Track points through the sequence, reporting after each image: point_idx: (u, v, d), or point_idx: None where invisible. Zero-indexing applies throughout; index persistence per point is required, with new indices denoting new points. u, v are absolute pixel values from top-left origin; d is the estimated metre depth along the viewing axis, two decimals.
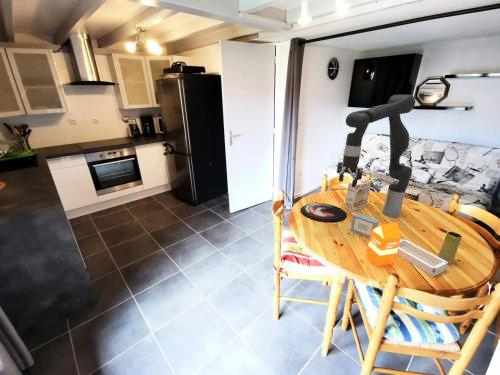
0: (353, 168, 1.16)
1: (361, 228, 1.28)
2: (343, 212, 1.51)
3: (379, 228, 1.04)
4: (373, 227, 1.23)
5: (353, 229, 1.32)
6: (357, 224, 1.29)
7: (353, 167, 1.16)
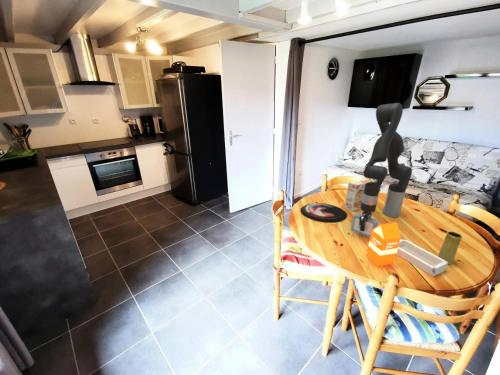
0: None
1: None
2: (343, 212, 1.51)
3: (379, 228, 1.04)
4: (373, 227, 1.23)
5: (353, 229, 1.32)
6: (357, 224, 1.30)
7: None
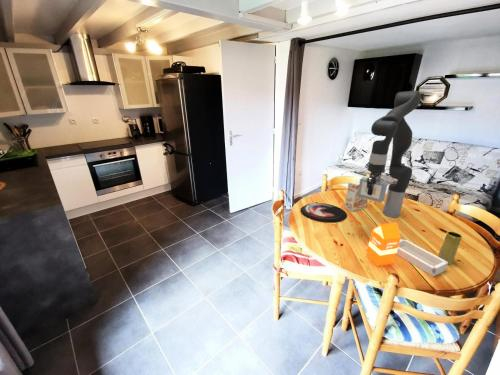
0: (379, 173, 1.19)
1: None
2: (343, 212, 1.51)
3: (379, 228, 1.04)
4: (382, 189, 1.15)
5: (360, 194, 1.24)
6: (364, 188, 1.21)
7: (379, 172, 1.19)
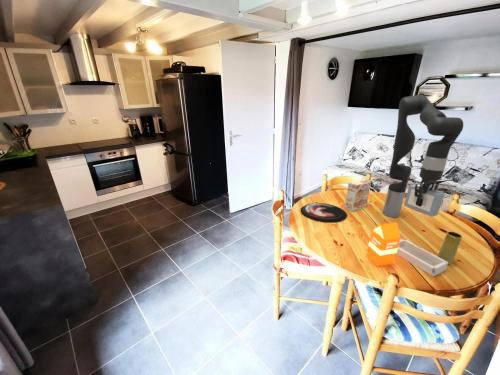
0: (435, 182, 0.98)
1: None
2: (343, 212, 1.51)
3: (379, 228, 1.04)
4: (434, 200, 0.95)
5: (407, 204, 1.06)
6: (412, 197, 1.03)
7: (436, 180, 0.98)
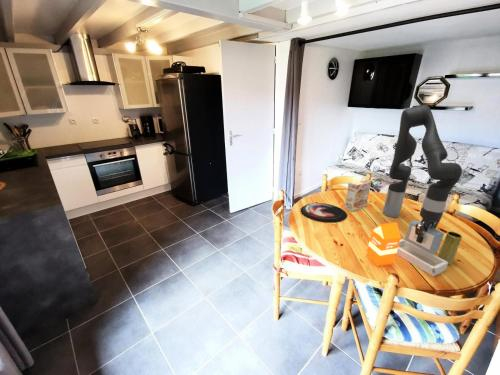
0: (435, 220, 1.02)
1: None
2: (343, 212, 1.51)
3: (379, 228, 1.04)
4: (434, 240, 0.99)
5: (408, 239, 1.09)
6: (413, 233, 1.07)
7: None
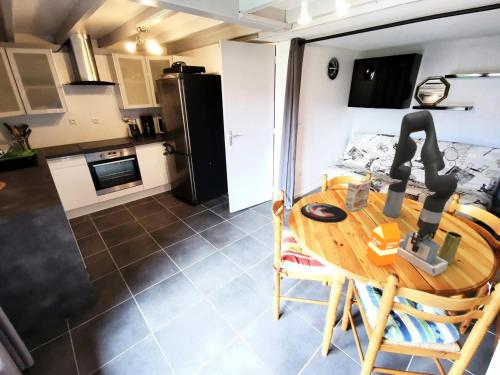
0: None
1: None
2: (343, 212, 1.51)
3: (379, 228, 1.04)
4: (430, 251, 1.01)
5: (405, 249, 1.12)
6: (410, 244, 1.09)
7: None
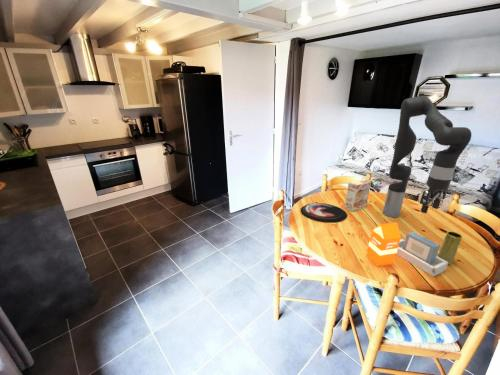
0: (442, 190, 0.99)
1: (414, 249, 1.07)
2: (343, 212, 1.51)
3: (379, 228, 1.04)
4: (430, 251, 1.01)
5: (405, 249, 1.12)
6: (410, 244, 1.09)
7: None
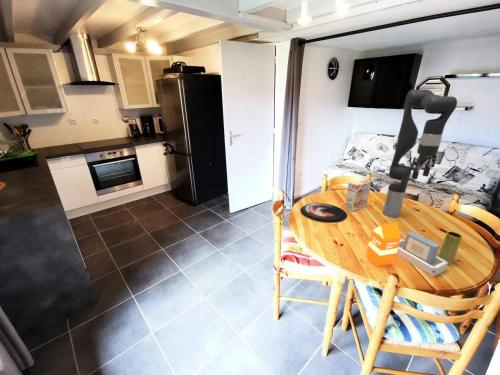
0: (431, 157, 1.07)
1: (414, 249, 1.07)
2: (343, 212, 1.51)
3: (379, 228, 1.04)
4: (430, 251, 1.01)
5: (405, 249, 1.12)
6: (410, 244, 1.09)
7: (432, 156, 1.07)
